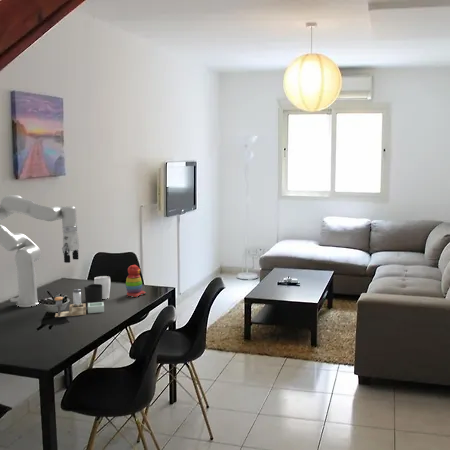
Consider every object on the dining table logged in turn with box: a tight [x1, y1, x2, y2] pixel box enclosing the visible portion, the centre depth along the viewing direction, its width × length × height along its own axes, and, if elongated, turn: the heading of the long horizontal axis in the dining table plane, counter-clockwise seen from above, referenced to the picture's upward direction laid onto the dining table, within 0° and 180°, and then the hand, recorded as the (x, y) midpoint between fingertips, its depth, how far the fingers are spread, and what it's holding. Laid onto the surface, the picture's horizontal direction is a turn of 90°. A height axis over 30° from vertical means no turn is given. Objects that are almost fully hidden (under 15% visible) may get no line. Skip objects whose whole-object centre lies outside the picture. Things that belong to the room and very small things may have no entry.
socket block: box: [54, 302, 87, 318], centre depth 282 cm, size 15×9×6 cm, turn 103°
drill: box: [72, 288, 83, 307], centre depth 282 cm, size 4×4×12 cm
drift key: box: [54, 296, 64, 308], centre depth 280 cm, size 4×4×4 cm
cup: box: [93, 275, 112, 300], centre depth 315 cm, size 9×9×12 cm
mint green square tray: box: [87, 301, 105, 314], centre depth 287 cm, size 8×8×4 cm
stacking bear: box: [125, 264, 147, 297], centre depth 321 cm, size 11×10×18 cm
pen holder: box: [83, 283, 103, 305], centre depth 303 cm, size 9×9×10 cm
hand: (71, 260), depth 300 cm, fingers open, 9 cm apart
